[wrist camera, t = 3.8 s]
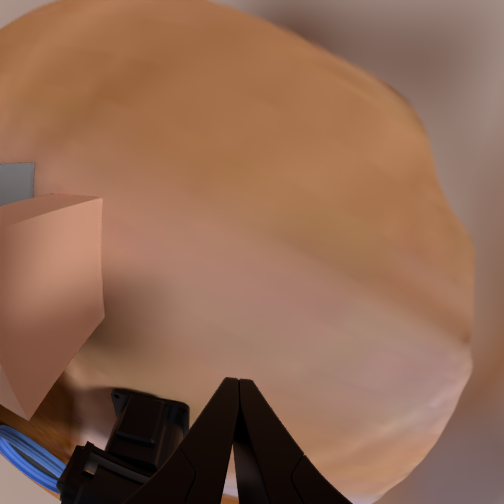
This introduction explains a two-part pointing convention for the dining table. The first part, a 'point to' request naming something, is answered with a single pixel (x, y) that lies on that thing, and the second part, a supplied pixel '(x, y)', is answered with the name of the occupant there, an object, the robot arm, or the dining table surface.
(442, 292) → the dining table surface
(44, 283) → the terracotta block
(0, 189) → the mat
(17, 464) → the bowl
